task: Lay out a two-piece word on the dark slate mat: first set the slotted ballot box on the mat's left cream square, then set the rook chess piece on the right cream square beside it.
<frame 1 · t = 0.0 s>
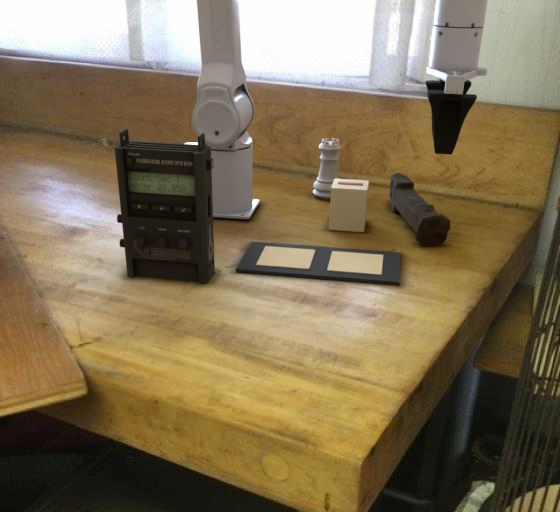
hand: (442, 146, 88), 10 cm above the table, tool pointing down, fingers open, 7 cm apart
geiger counter: (168, 277, 76), on the table
word mat: (320, 263, 80), on the table
slotted ballot box: (347, 225, 92), on the table
rook chess piece: (327, 196, 103), on the table
hand tool: (406, 223, 93), on the table
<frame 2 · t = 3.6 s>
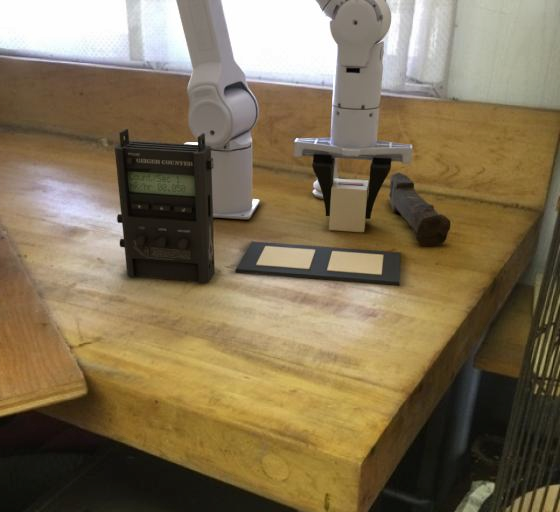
hand: (348, 215, 91), 1 cm above the table, tool pointing down, fingers closed on slotted ballot box, 4 cm apart
slotted ballot box: (347, 225, 92), on the table, touching gripper
everything else where it was.
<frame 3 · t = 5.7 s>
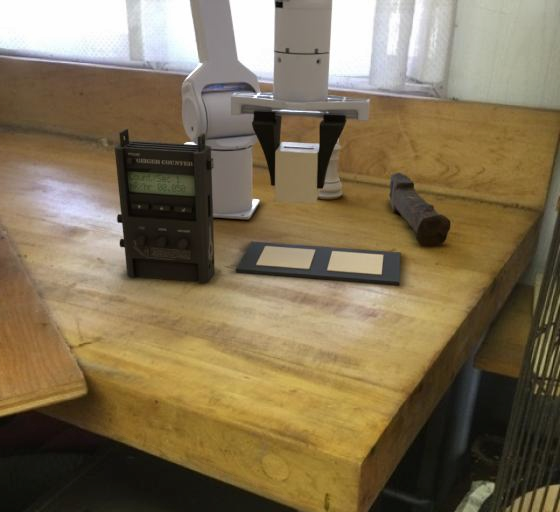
hand: (297, 184, 78), 8 cm above the table, tool pointing down, fingers closed on slotted ballot box, 4 cm apart
slotted ballot box: (297, 197, 78), point 7 cm above the table, touching gripper
everything else where it was.
when the fingers open (2 cm above the table, at t = 7.8 s): slotted ballot box stays where it is, resting on word mat.
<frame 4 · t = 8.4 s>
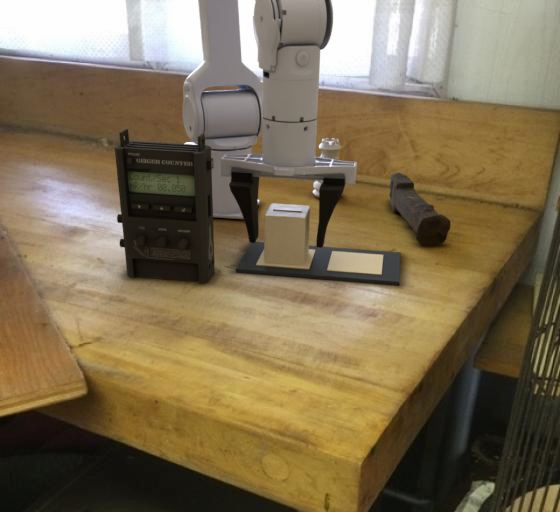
hand: (286, 242, 79), 2 cm above the table, tool pointing down, fingers open, 7 cm apart
slotted ballot box: (286, 257, 80), resting on word mat
everything else where it was.
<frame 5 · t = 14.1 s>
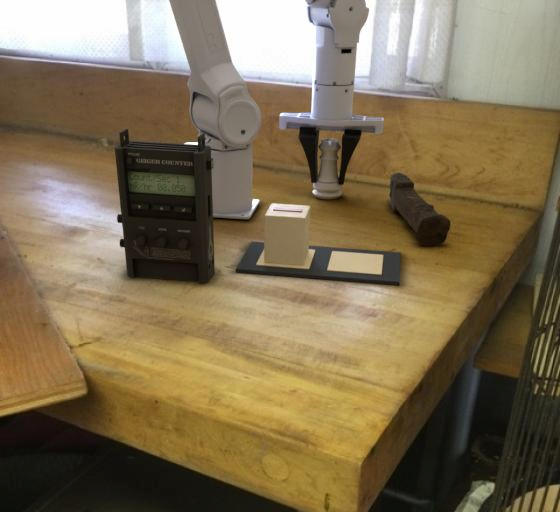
hand: (328, 182, 102), 2 cm above the table, tool pointing down, fingers closed on rook chess piece, 3 cm apart
rook chess piece: (327, 196, 103), on the table, touching gripper
everything else where it was.
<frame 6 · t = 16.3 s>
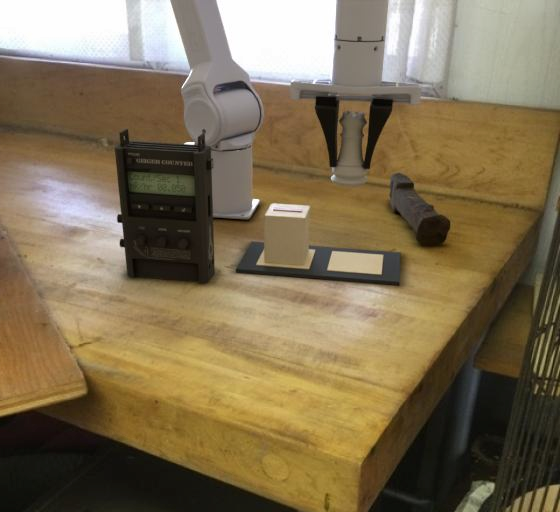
hand: (350, 166, 83), 9 cm above the table, tool pointing down, fingers closed on rook chess piece, 3 cm apart
rook chess piece: (348, 184, 84), point 7 cm above the table, touching gripper
everything else where it was.
when the fingers open (2 cm above the table, at t = 18.9 s): rook chess piece stays where it is, resting on word mat.
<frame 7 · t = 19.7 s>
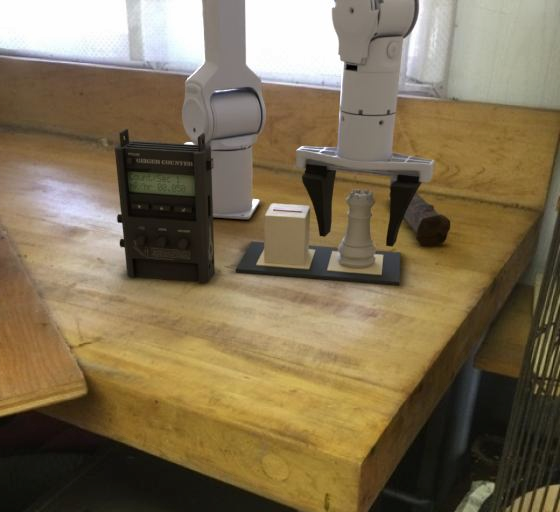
hand: (357, 238, 78), 3 cm above the table, tool pointing down, fingers open, 7 cm apart
rook chess piece: (355, 263, 79), resting on word mat
everything else where it was.
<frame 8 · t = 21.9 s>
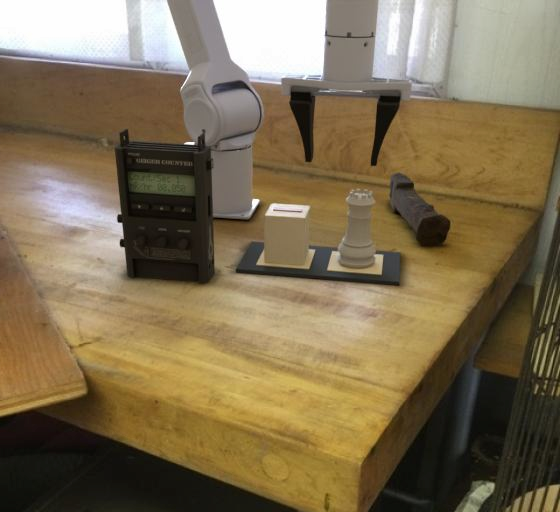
hand: (341, 162, 83), 9 cm above the table, tool pointing down, fingers open, 7 cm apart
nothing on the table moved.
at the end: slotted ballot box 0.0 cm from the target spot on the word mat, point 0.5 cm above the word mat's base; rook chess piece 0.1 cm from the target spot on the word mat, point 0.3 cm above the word mat's base; rook chess piece tilted 0° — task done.
